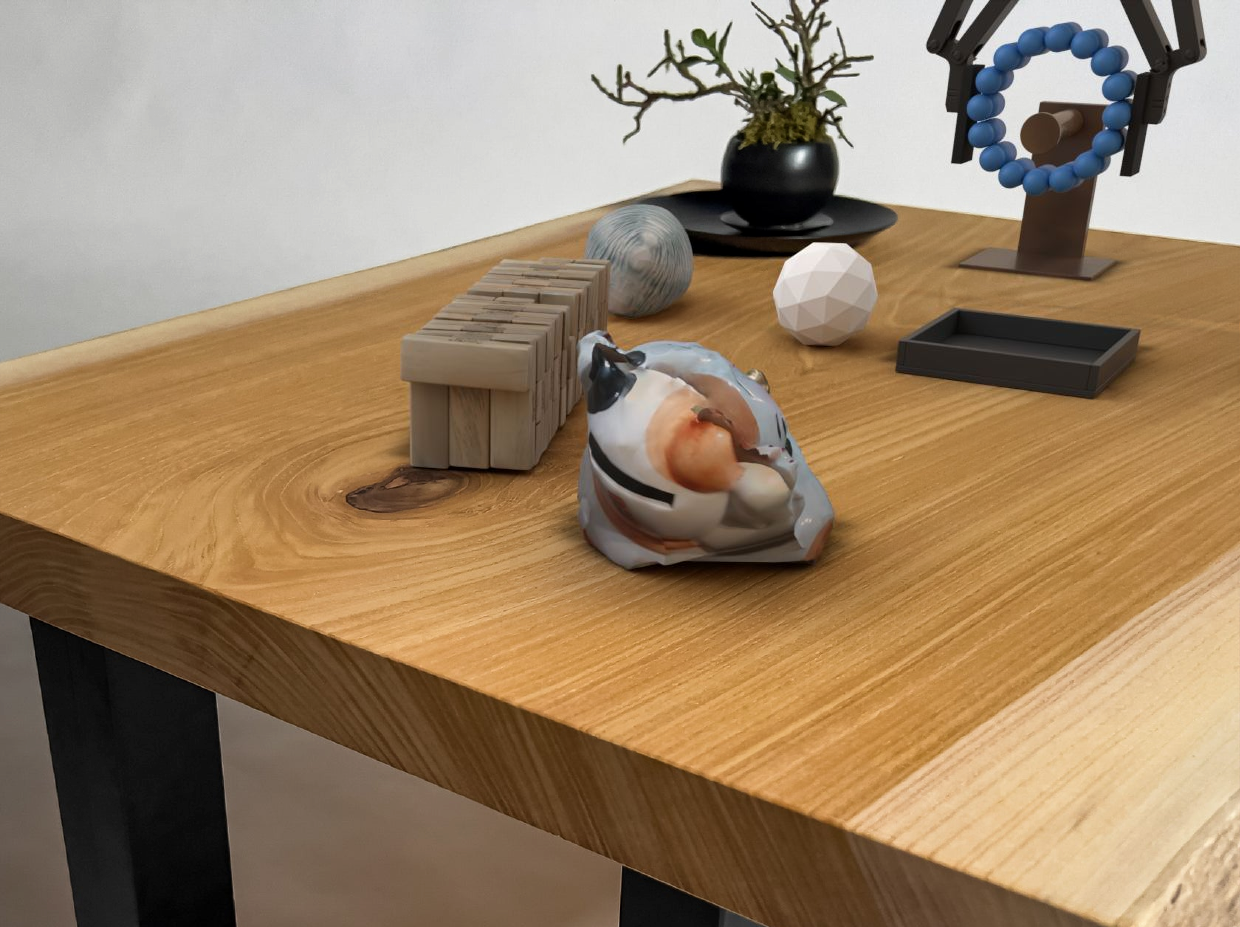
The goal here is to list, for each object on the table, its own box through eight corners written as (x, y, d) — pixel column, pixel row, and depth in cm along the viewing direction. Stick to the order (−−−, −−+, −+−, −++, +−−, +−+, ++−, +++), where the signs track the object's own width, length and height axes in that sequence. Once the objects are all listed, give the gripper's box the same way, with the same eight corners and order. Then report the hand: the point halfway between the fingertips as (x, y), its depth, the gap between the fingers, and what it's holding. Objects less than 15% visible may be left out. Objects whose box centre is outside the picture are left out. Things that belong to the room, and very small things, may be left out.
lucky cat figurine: (885, 550, 83) (905, 345, 72) (715, 681, 80) (707, 487, 69) (688, 412, 91) (678, 206, 80) (526, 526, 88) (491, 328, 76)
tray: (1135, 359, 120) (1141, 329, 119) (1093, 399, 111) (1099, 365, 109) (949, 336, 127) (953, 307, 126) (894, 371, 117) (898, 340, 116)
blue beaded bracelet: (1127, 195, 115) (1158, 23, 109) (1111, 204, 111) (1143, 27, 106) (972, 182, 120) (995, 18, 115) (952, 190, 116) (975, 21, 111)
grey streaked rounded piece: (584, 248, 143) (634, 151, 136) (676, 301, 143) (731, 207, 136) (542, 316, 133) (594, 216, 126) (642, 373, 134) (698, 276, 127)
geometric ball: (844, 379, 126) (911, 306, 120) (763, 351, 122) (827, 273, 117) (822, 313, 130) (885, 239, 124) (743, 283, 126) (804, 206, 121)
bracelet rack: (1114, 272, 151) (1144, 105, 144) (1084, 294, 142) (1115, 116, 135) (987, 259, 156) (1010, 98, 149) (951, 279, 147) (973, 108, 141)
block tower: (505, 371, 121) (396, 472, 95) (507, 255, 117) (393, 328, 91) (609, 377, 119) (526, 482, 93) (613, 259, 115) (528, 335, 90)
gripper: (904, -185, 107) (867, 161, 117) (1285, -196, 96) (1207, 187, 106) (939, -179, 113) (901, 150, 123) (1303, -189, 102) (1228, 174, 112)
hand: (1043, 168), depth 115 cm, fingers closed on blue beaded bracelet, 11 cm apart
